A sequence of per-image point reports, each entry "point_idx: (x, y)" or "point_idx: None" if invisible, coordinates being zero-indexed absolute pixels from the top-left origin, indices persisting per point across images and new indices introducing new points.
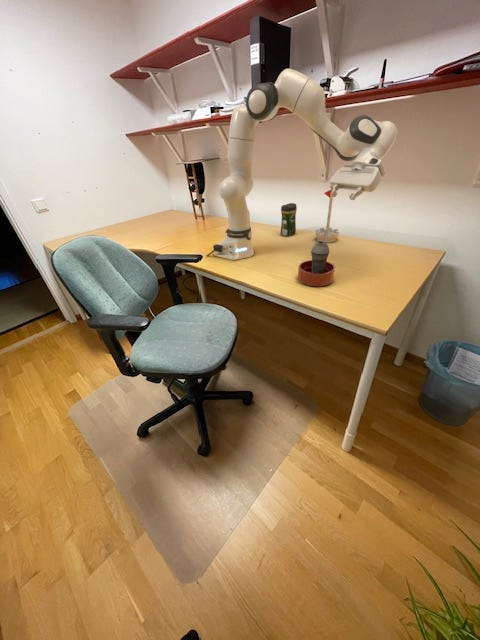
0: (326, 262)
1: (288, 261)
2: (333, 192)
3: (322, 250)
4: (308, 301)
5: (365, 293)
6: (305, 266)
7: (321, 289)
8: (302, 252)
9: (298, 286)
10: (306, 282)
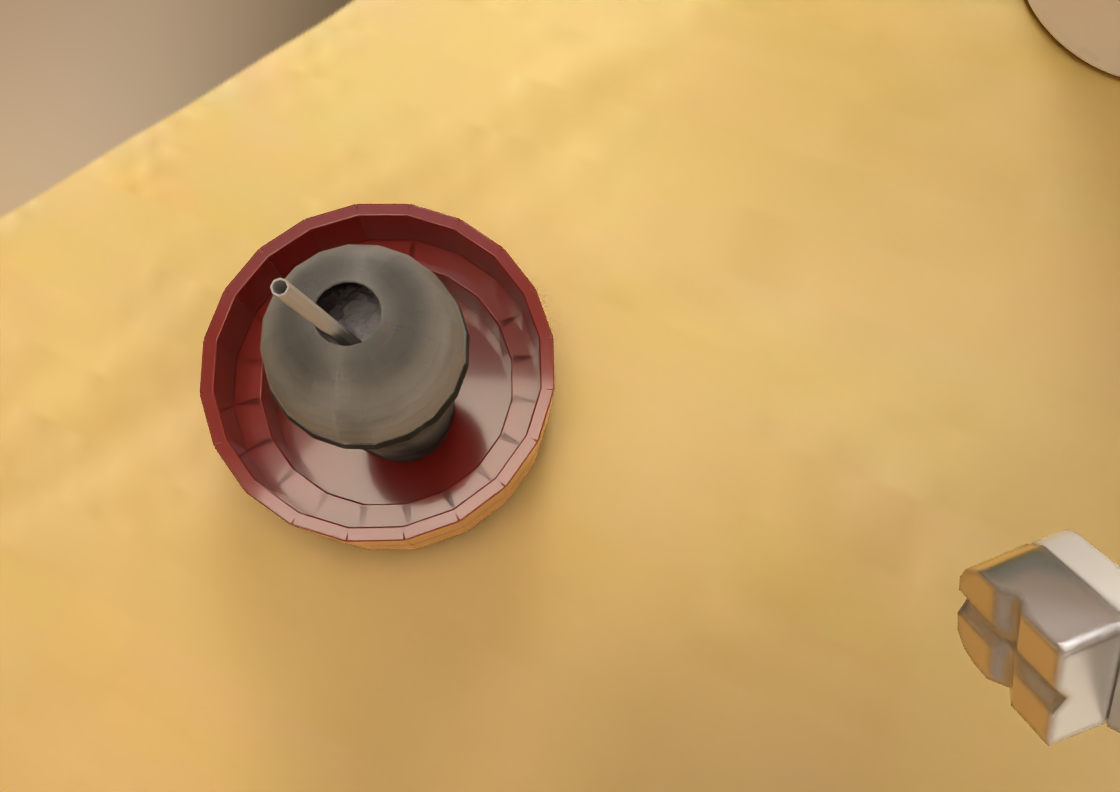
0: (455, 508)
1: (851, 319)
2: (1054, 587)
3: (265, 314)
4: (77, 206)
5: (3, 683)
6: (530, 333)
7: None
8: None
9: None
10: None
